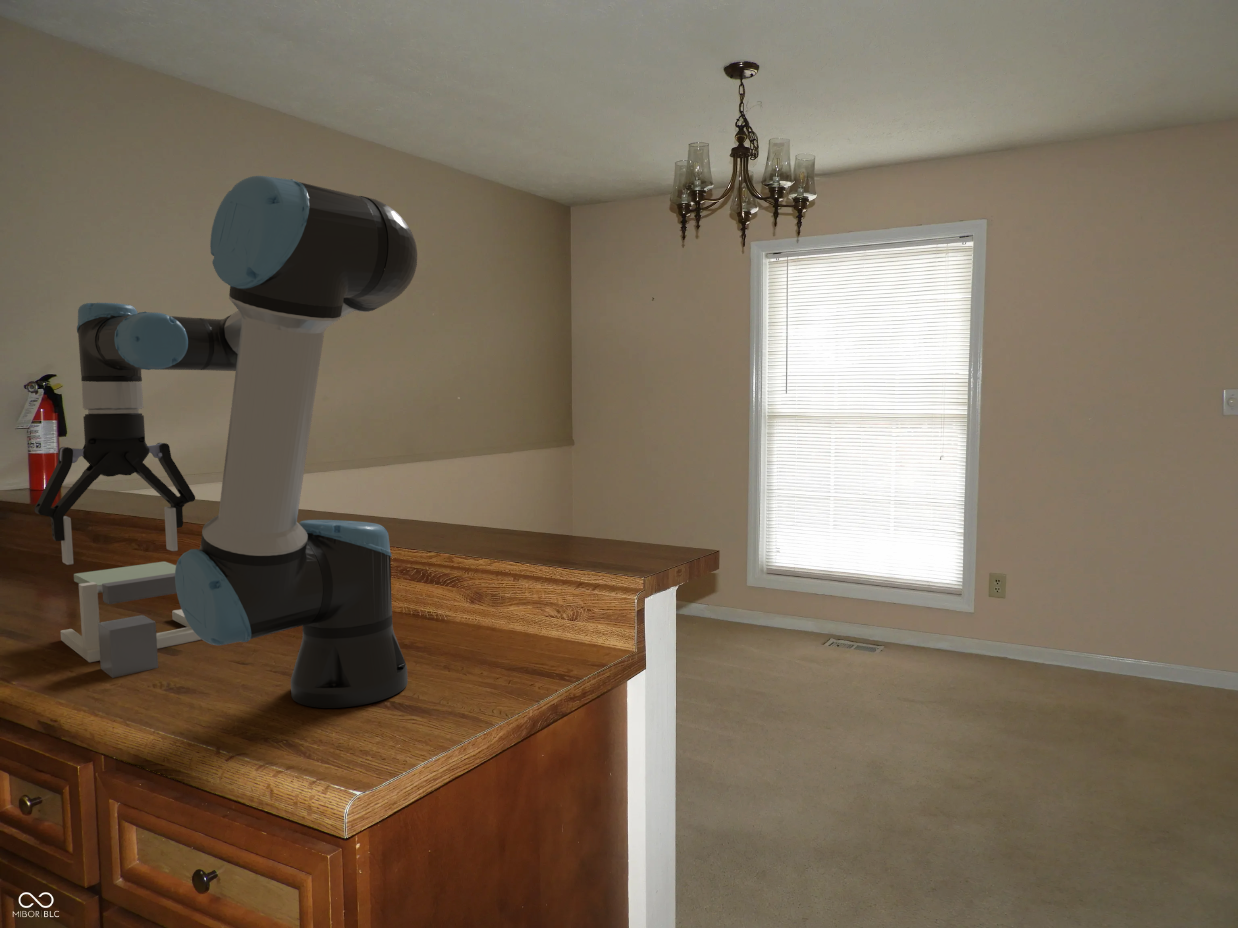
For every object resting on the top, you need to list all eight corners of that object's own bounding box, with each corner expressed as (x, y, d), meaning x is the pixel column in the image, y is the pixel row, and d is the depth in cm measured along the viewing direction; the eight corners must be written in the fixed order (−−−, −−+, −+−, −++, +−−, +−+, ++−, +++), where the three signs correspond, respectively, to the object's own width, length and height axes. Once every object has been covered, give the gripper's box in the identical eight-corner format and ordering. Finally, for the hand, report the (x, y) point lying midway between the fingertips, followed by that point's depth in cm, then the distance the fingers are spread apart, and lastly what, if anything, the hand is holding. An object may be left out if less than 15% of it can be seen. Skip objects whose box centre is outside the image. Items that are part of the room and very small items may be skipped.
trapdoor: (201, 588, 136) (200, 572, 136) (104, 604, 126) (103, 586, 126) (165, 575, 149) (164, 559, 149) (74, 588, 139) (73, 572, 139)
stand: (218, 635, 139) (214, 568, 138) (89, 662, 126) (84, 587, 125) (182, 617, 151) (178, 555, 150) (61, 640, 138) (56, 571, 137)
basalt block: (158, 667, 123) (155, 621, 122) (112, 678, 119) (109, 630, 118) (145, 659, 127) (142, 614, 127) (100, 668, 123) (97, 622, 122)
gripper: (195, 410, 131) (202, 541, 133) (3, 413, 114) (13, 565, 115) (213, 410, 126) (219, 547, 128) (14, 414, 108) (25, 573, 110)
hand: (122, 556), depth 122 cm, fingers open, 13 cm apart
